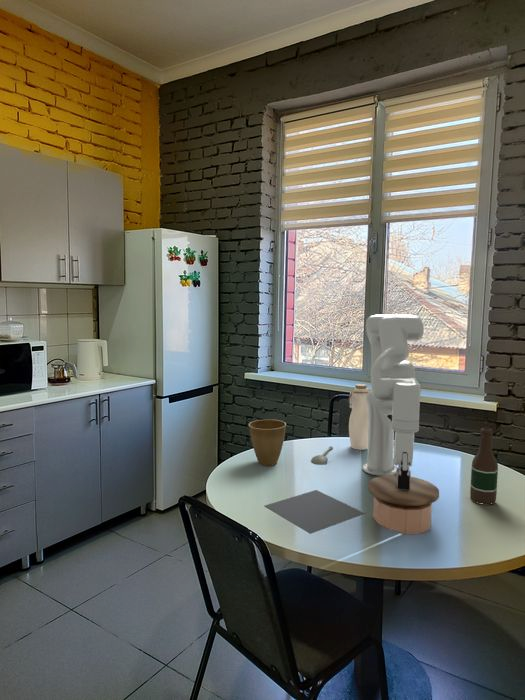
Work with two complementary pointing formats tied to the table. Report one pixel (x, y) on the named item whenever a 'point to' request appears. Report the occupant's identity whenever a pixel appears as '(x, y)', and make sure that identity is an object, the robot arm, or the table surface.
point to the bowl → (402, 516)
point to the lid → (403, 490)
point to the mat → (313, 511)
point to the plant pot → (267, 440)
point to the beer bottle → (484, 471)
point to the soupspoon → (321, 458)
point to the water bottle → (358, 417)
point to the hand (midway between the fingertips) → (403, 485)
